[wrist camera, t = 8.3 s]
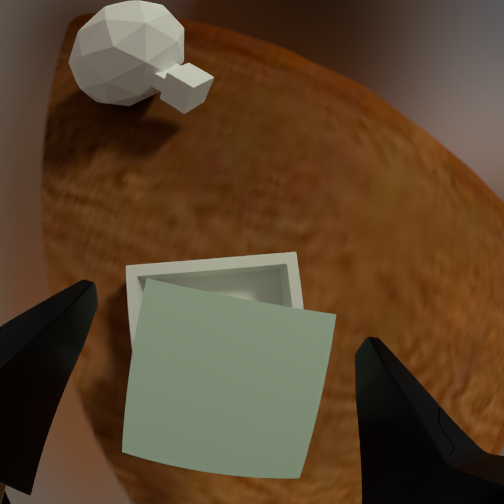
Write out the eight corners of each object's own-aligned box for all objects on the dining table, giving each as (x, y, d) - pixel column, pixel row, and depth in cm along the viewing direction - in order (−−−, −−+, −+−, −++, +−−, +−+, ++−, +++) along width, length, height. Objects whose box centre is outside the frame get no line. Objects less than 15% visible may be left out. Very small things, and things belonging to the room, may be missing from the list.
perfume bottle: (52, 99, 17) (145, 169, 18) (52, 4, 9) (173, 51, 10) (123, 61, 21) (215, 115, 22) (142, -18, 14) (258, 28, 15)
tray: (300, 402, 16) (313, 414, 14) (155, 417, 15) (146, 432, 12) (284, 260, 18) (296, 251, 16) (138, 272, 17) (125, 265, 14)
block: (246, 381, 16) (299, 478, 5) (178, 368, 15) (121, 451, 5) (258, 316, 16) (336, 314, 6) (190, 302, 16) (146, 277, 5)
